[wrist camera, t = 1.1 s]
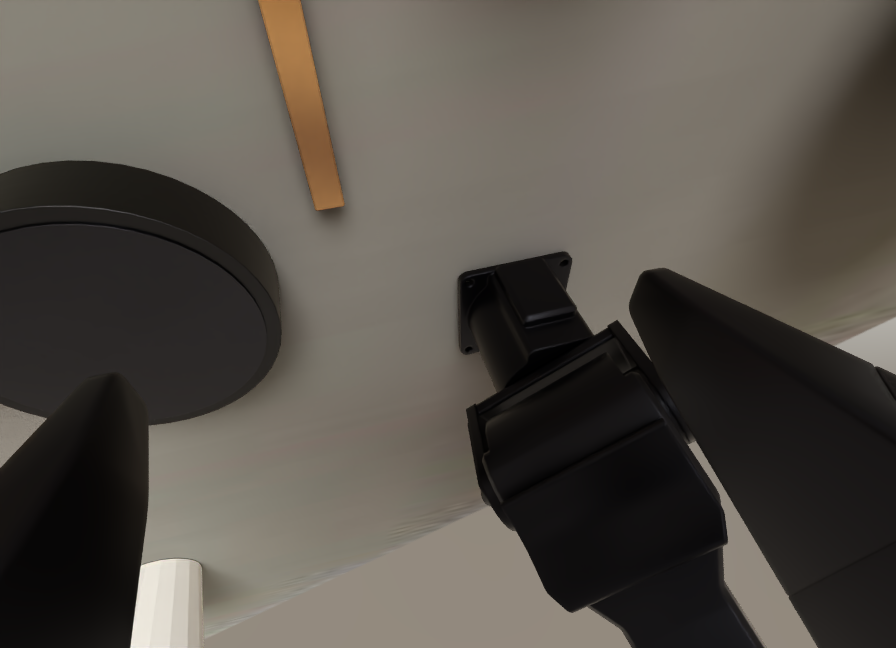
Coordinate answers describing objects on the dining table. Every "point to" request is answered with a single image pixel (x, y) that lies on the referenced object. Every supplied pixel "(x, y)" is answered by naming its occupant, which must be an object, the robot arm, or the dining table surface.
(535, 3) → the dining table surface
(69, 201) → the pan
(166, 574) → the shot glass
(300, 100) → the pan rest
